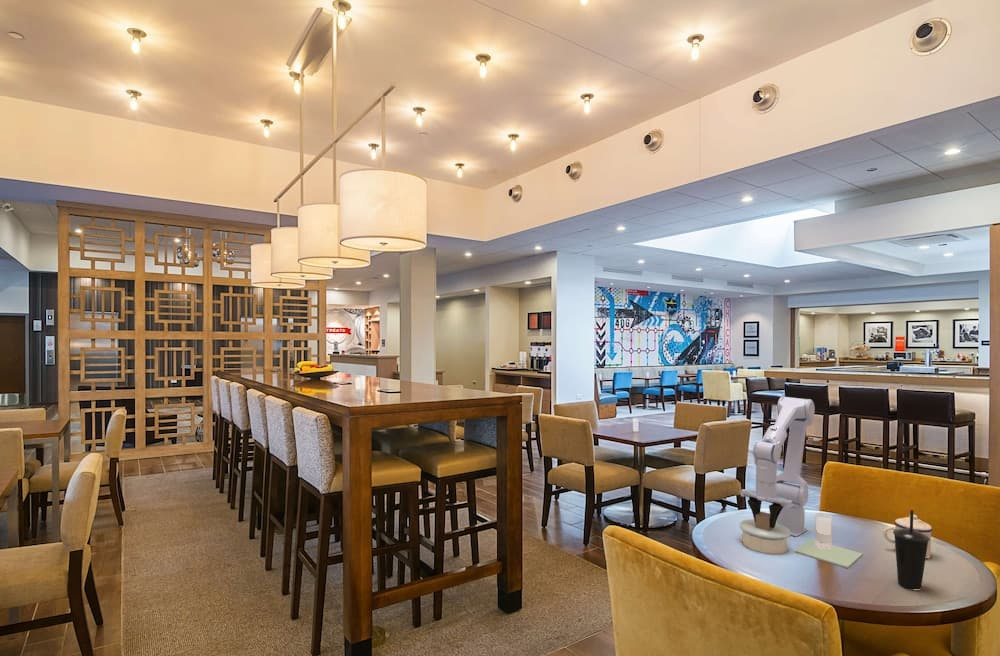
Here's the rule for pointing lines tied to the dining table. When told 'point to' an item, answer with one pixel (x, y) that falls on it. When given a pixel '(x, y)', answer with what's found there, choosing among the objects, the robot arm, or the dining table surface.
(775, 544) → the bowl
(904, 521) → the teacup with lid
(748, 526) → the cover
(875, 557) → the dining table surface
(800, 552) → the mat
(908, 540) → the drinking cup
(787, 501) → the robot arm
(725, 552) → the dining table surface
